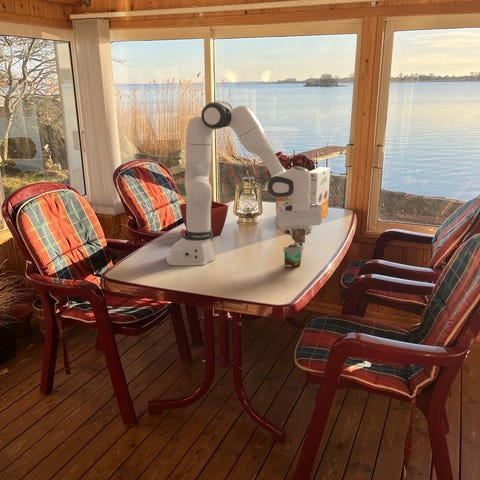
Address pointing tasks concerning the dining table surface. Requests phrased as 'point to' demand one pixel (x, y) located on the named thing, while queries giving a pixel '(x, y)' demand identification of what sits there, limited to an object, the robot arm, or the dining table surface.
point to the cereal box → (320, 188)
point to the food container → (293, 255)
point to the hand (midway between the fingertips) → (298, 235)
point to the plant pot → (212, 217)
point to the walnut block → (298, 234)
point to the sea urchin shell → (305, 227)
